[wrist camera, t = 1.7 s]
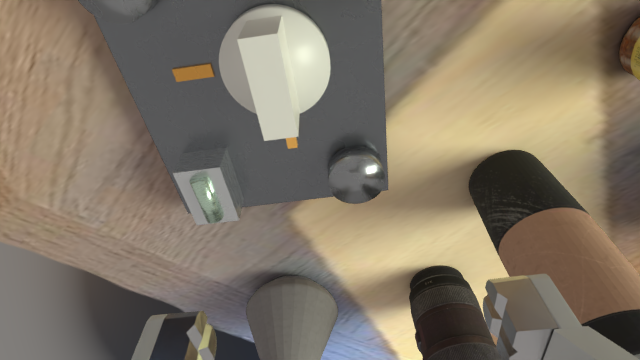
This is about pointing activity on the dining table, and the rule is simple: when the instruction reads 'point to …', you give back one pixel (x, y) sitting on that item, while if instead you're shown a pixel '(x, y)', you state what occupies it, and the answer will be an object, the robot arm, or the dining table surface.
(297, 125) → the knob
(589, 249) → the travel mug
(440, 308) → the camera lens
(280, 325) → the coffee pot
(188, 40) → the levelling base
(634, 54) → the sauce bottle
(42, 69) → the dining table surface
